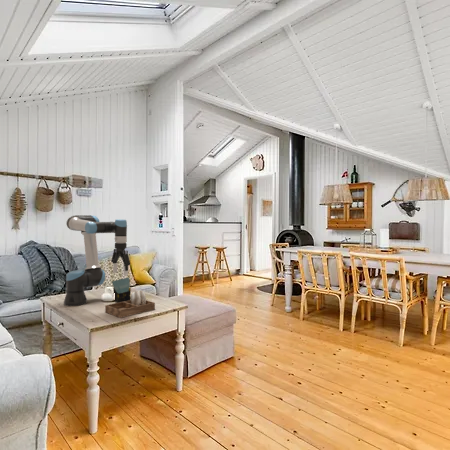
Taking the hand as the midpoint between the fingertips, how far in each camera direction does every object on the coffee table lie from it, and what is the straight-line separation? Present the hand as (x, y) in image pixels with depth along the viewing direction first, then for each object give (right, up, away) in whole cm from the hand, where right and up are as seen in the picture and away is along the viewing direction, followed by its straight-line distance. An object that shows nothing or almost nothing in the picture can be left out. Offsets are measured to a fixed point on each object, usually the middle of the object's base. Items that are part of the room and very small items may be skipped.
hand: (120, 274), depth 218 cm
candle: (-7, -24, +26) cm, 36 cm away
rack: (+7, -24, -1) cm, 25 cm away
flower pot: (+3, -12, -2) cm, 13 cm away
